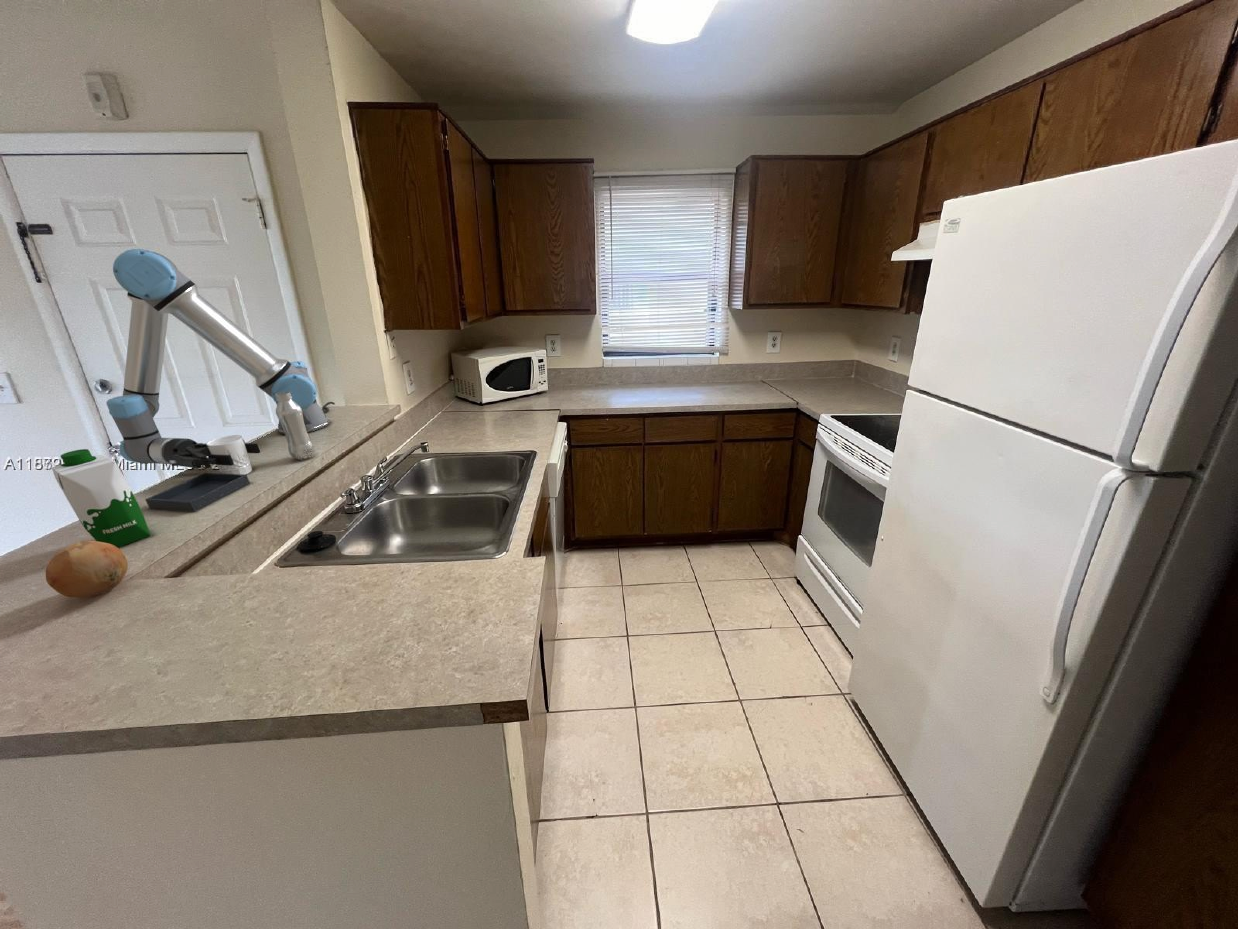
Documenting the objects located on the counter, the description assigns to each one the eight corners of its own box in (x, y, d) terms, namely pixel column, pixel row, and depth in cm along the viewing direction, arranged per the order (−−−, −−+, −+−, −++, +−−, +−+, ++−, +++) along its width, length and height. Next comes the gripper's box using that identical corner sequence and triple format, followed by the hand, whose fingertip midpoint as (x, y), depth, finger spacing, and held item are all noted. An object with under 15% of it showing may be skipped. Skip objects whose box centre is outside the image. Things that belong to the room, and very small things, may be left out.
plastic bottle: (294, 464, 137) (270, 397, 129) (290, 457, 142) (267, 393, 134) (319, 457, 141) (298, 392, 133) (314, 451, 146) (293, 388, 138)
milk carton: (143, 524, 108) (101, 443, 100) (158, 535, 103) (114, 451, 95) (90, 543, 101) (39, 458, 93) (103, 555, 97) (51, 467, 88)
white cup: (241, 479, 129) (227, 445, 125) (213, 479, 129) (198, 445, 125) (261, 467, 136) (249, 434, 132) (235, 467, 136) (221, 435, 132)
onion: (98, 576, 90) (71, 531, 86) (152, 572, 91) (127, 528, 86) (45, 611, 81) (12, 563, 77) (104, 607, 82) (75, 559, 78)
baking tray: (209, 481, 128) (205, 472, 127) (250, 483, 126) (246, 474, 125) (149, 508, 115) (144, 499, 114) (194, 511, 113) (190, 502, 112)
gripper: (215, 449, 144) (279, 452, 140) (143, 479, 126) (215, 483, 122) (205, 426, 141) (271, 428, 137) (130, 453, 123) (203, 456, 119)
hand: (244, 454), depth 129 cm, fingers closed on white cup, 8 cm apart
